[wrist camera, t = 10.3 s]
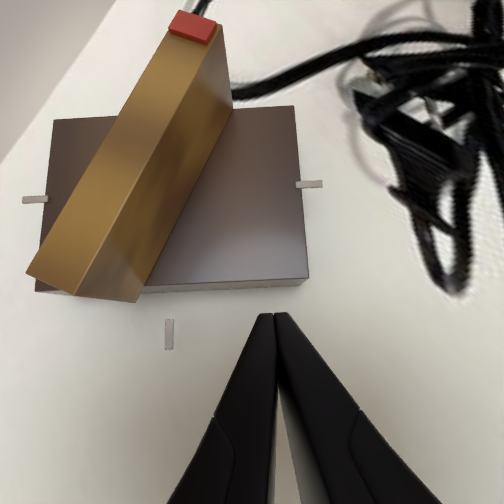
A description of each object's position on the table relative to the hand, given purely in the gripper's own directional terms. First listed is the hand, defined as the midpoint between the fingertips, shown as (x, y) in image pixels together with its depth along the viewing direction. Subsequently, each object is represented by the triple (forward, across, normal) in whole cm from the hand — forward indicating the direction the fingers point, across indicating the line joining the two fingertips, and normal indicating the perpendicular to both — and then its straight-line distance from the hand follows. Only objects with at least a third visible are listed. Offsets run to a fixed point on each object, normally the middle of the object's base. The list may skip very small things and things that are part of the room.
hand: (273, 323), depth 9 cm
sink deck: (+12, +5, +2) cm, 13 cm away
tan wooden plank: (+9, +5, -1) cm, 10 cm away
